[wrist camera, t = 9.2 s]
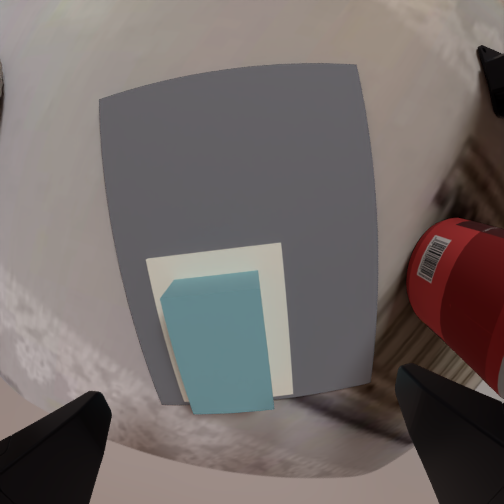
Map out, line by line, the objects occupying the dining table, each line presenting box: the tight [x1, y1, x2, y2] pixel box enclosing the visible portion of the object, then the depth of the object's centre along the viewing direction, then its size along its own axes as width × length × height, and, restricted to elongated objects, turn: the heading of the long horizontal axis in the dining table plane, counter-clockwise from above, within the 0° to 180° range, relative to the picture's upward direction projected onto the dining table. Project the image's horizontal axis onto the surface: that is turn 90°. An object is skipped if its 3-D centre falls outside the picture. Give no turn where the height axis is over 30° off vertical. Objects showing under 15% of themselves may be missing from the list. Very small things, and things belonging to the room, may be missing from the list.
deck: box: [160, 270, 274, 414], centre depth 16 cm, size 8×5×3 cm, turn 7°
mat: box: [99, 63, 378, 405], centre depth 17 cm, size 16×22×1 cm
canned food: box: [406, 218, 504, 399], centre depth 12 cm, size 8×8×11 cm
